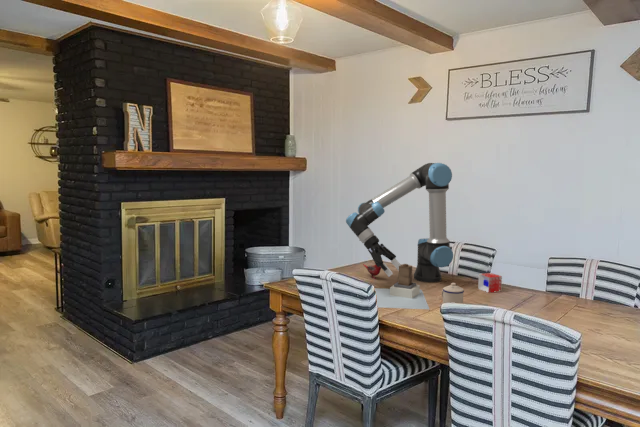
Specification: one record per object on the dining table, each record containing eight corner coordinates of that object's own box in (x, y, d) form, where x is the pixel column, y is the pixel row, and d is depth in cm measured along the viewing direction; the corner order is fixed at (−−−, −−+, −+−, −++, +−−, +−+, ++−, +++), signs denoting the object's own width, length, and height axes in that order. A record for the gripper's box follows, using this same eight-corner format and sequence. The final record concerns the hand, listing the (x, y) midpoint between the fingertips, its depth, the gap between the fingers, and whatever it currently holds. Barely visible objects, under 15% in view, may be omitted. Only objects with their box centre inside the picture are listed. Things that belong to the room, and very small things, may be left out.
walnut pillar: (402, 284, 232) (402, 262, 231) (411, 285, 229) (412, 264, 228) (398, 286, 228) (398, 264, 227) (408, 287, 225) (408, 265, 224)
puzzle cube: (501, 291, 238) (501, 276, 237) (488, 292, 235) (489, 277, 234) (490, 287, 245) (491, 272, 245) (478, 288, 243) (478, 273, 242)
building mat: (421, 291, 237) (421, 289, 237) (429, 311, 205) (429, 309, 205) (373, 289, 240) (374, 288, 239) (374, 308, 208) (374, 307, 208)
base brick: (398, 289, 237) (398, 279, 236) (419, 293, 231) (419, 282, 230) (390, 295, 227) (390, 284, 227) (411, 298, 222) (412, 287, 221)
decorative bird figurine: (379, 281, 256) (379, 263, 255) (360, 274, 271) (361, 257, 270) (383, 280, 258) (383, 263, 256) (364, 274, 273) (365, 257, 272)
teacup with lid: (467, 310, 207) (468, 284, 205) (451, 313, 203) (452, 286, 202) (449, 303, 218) (450, 278, 216) (433, 305, 214) (434, 280, 213)
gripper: (374, 240, 248) (400, 272, 242) (353, 247, 227) (380, 282, 221) (383, 231, 245) (410, 263, 239) (363, 237, 224) (391, 272, 218)
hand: (396, 272), depth 230 cm, fingers open, 13 cm apart
